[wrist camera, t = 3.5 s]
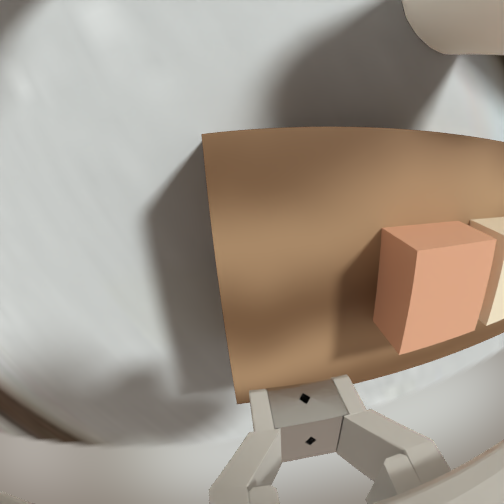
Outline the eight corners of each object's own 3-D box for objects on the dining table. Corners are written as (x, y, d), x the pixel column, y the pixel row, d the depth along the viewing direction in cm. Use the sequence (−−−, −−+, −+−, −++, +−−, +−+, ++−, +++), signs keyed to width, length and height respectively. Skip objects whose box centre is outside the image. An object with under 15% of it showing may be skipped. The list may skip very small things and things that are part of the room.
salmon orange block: (381, 227, 13) (417, 250, 11) (458, 220, 14) (496, 239, 11) (372, 320, 15) (398, 355, 12) (444, 303, 16) (474, 330, 13)
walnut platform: (206, 136, 17) (201, 134, 11) (490, 141, 18) (544, 150, 13) (231, 342, 22) (237, 404, 16) (471, 295, 23) (512, 328, 18)
